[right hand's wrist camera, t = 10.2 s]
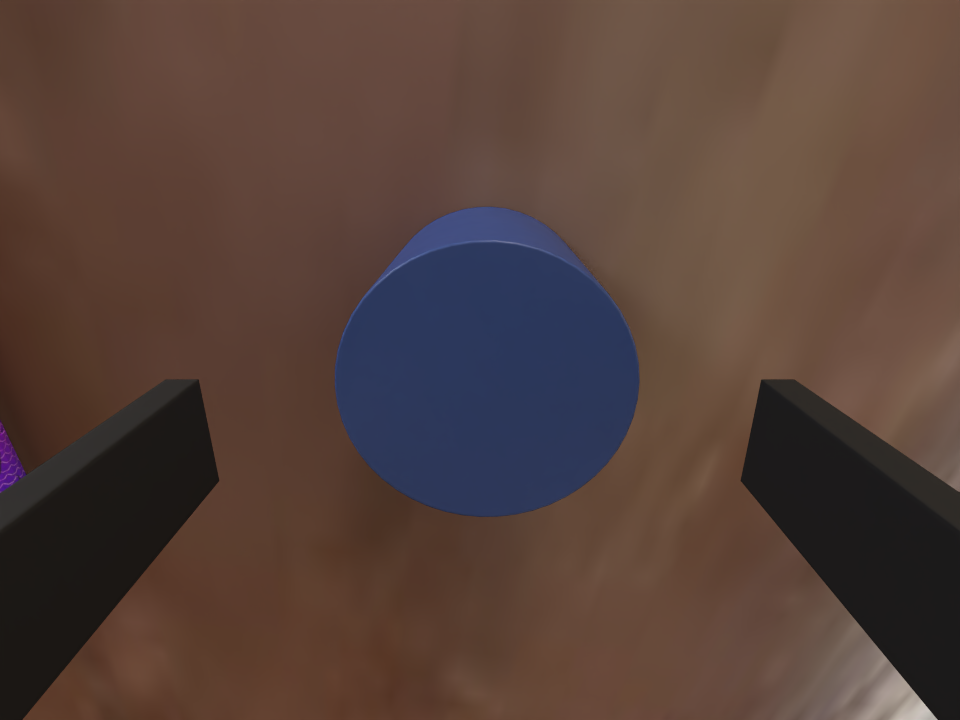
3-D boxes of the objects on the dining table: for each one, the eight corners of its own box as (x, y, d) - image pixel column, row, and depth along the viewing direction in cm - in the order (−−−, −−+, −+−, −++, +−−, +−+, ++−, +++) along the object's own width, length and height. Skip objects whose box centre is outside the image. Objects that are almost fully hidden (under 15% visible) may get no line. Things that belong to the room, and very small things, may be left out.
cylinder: (624, 335, 20) (693, 428, 13) (462, 433, 22) (452, 559, 15) (514, 160, 18) (532, 168, 11) (343, 286, 19) (269, 358, 13)
